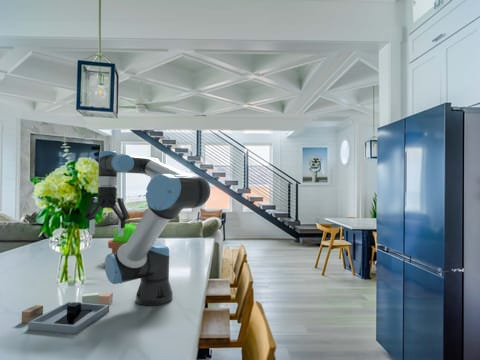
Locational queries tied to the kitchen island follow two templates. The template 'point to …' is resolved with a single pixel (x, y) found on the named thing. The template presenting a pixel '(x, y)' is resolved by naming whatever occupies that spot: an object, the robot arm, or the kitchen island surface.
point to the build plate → (73, 314)
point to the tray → (48, 319)
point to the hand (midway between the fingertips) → (106, 235)
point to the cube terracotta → (106, 298)
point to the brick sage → (91, 298)
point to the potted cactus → (121, 237)
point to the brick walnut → (32, 313)
